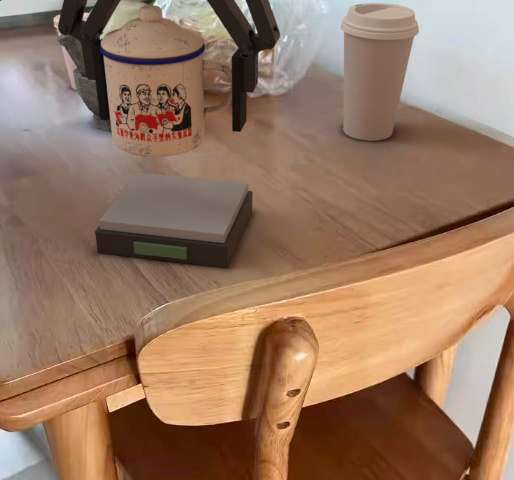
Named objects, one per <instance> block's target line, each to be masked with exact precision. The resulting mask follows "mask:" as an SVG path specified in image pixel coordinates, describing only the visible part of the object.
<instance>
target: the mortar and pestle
mask: <svg viewBox="0 0 514 480" xmlns="http://www.w3.org/2000/svg"><path fill="white" fill-rule="evenodd" d="M57 41H58V43H59V45H60V46H61V45H62V46H64V47H65V49H66V50H67V52H68V54H69V55H70V57H71V59H72V60H73V62H74V63H75V65H76V67H77V68H76V69H75V70H73V74H74V81H75V85H76V88H77V90H76V92H77V94H78V96H79V97H80V98H81V100H82V102H83V103H84V105H85V106H86V108H87V109H88V110H89V111H90V112H91V113H93V116H92V120H93V122H92V123H93V124H94V126H95V128H96V129H100V130H102V131H107V132H112V130H111V121H110V119H109V120H100V115H99V106H98V98H97V89H96V81H95V80H88V78H87V76H86V74H85V67H84V59H83V51H82V45H81V43H80V41H79V40H78V39H76V38H75V37H72V36H70V35H63V34H61V35H60V36H59V35H58V37H57ZM62 46H61V47H62Z"/></svg>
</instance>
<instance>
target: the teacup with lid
mask: <svg viewBox="0 0 514 480" xmlns="http://www.w3.org/2000/svg"><path fill="white" fill-rule="evenodd" d="M102 38H103V39H102ZM102 38H101V39H102V41H101V45H100V51H101V53H102V54H103V56H104V65H105V74H106V83H107V93H108V102H109V111H110V121H111V130H112V131H111V137H112V142H113V144H114V145H115V146H116V147H117V148H118V149H120V150H121V151H123V152H125V153H128V154H130V155H135V156H138V157H146V158H147V157H148V158H164V157H165V158H166V157H173V156H180V155H183V154H186V153H189V152H191V151H193V150H195V149H197V148H198V147H200V146H201V145H202V144H203V142H204V140H205V138H206V137H205V135H206V134H205V133H206V131H205V129H206V127H205V118H213V117H218V116H220V115H223V114H224V113H226V112H227V111H228V110H229V109H230V108H232V65H230V64H229V63H227V62H225V61H224V60H220V59H204V58H203V57H204V56H203V54H204V52H205V50H206V45H205V43H204V39H203V37H202V36H201V34H199V33H198V32H197V31H195V30H193V29H190V28H187V27H184V26H181V25H179V24H178V23H177V22H175V21H173V20H172V19H170V18H165V17H163V9H162V8H161V7H160V6H159V5H155V4H147V5H142V6H141V7H139V8H138V18H135V19H132V20H130V21H128V22H127V23H125V24H124V25H123V26H122V27H120V28H116V29H113V30H111V31H109V32H107V33H106V34H105V35H104V36H103V37H102ZM209 70H210V71H211V70H212V71H213V70H214V71H220V72H222V73H224V74H225V75H226V76H227V77H228V79H229V80H230V88H229V92H228V94H227V96H226V97H225V98H224V100H223V101H222V102H221V103H219V104H217V105H214V106H207V107H205V99H204V98H205V97H204V96H205V95H204V92H205V91H204V71H209Z"/></svg>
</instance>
